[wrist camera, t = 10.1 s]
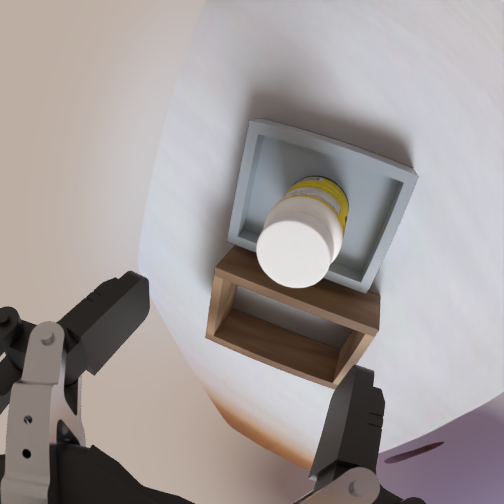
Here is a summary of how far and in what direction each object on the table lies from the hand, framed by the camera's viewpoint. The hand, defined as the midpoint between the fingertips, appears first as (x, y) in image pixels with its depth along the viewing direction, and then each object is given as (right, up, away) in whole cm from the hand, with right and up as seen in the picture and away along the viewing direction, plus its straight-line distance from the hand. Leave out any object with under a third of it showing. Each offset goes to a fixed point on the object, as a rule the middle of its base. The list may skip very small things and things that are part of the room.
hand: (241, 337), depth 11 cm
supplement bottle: (+5, +7, +12) cm, 15 cm away
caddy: (+5, -2, +18) cm, 19 cm away
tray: (+6, +7, +13) cm, 16 cm away
